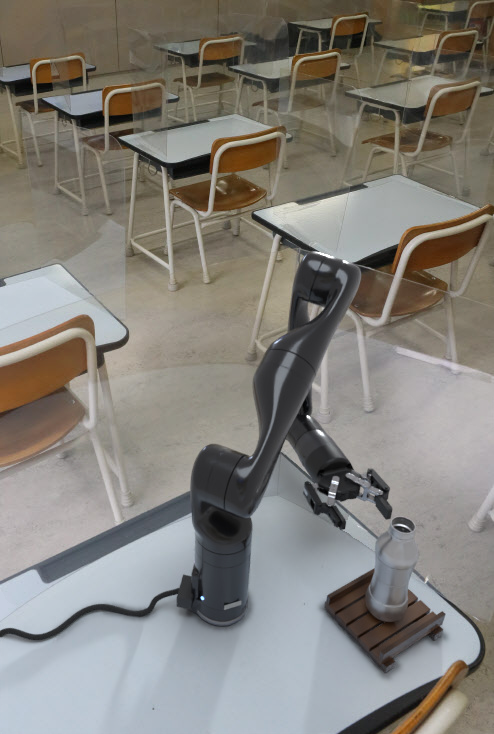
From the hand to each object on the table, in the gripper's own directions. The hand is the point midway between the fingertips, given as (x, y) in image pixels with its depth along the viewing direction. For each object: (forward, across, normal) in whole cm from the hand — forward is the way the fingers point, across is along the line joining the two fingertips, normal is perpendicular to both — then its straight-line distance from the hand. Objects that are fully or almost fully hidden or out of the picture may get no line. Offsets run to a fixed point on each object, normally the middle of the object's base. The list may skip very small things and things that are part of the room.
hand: (366, 521), depth 115 cm
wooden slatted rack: (+9, 0, +15) cm, 17 cm away
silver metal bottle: (+9, 0, +12) cm, 15 cm away
